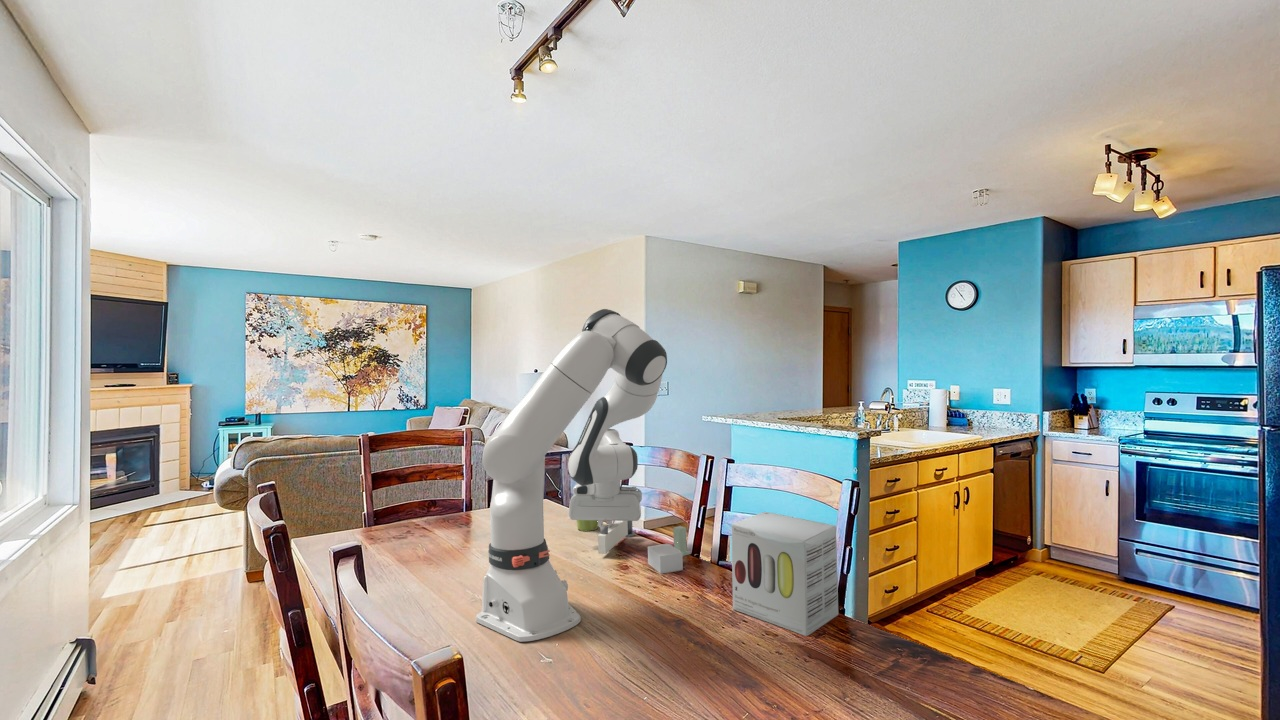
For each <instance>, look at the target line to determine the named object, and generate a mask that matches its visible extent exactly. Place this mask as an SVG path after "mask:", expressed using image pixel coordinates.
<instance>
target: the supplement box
mask: <svg viewBox="0 0 1280 720" xmlns="http://www.w3.org/2000/svg"><path fill="white" fill-rule="evenodd" d="M837 548H838V547H837V526H836V525H835V524H831V523H830V524H829V523H826V522H825V523H824V522H819V521H814V520H811V519H810V520H809V519H804V518H801V517H800V518H799V517H794V516H789V515H784V514H779V513H775V512H774V513H773V512H768V511H764V512H761V513H757V514H754V515H751V516H748V517H746V518H742V519H741V520H738V521H735V522H733V523H731V565H732V566H731V569H732V573H731V575H732V576H731V577H732V579H731V580H732V582H731V583H732V610H733V611H737V612H740V613H743V614H745V615H748V616H750V617H753V618H755V619H757V620H761V621H764V622H767V623H770V624H772V625H775V626H778V627H780V628H783V629H784V630H785V629H786V630H788V631H792V632H794V633H797V634H799V635H801V636H805V637H808V636H809V635H811V634H813V633H814V632H815V631H816V630H818V629H820V628H821V627H823V626H824V625H826V624H827V623H829V622H831V620H833V619H834V618H836V617H838V616H839V592H838V591H839V589H838V554H837V553H838V552H837V551H838V549H837Z"/></svg>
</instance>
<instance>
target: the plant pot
mask: <svg viewBox="0 0 1280 720" xmlns="http://www.w3.org/2000/svg"><path fill="white" fill-rule="evenodd" d="M597 521H598V520H576V526H577V530H580V531H581V532H591V531H595V530H597V529H598V527H599V525H598V522H597Z"/></svg>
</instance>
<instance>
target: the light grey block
mask: <svg viewBox="0 0 1280 720" xmlns="http://www.w3.org/2000/svg"><path fill="white" fill-rule="evenodd" d="M683 557H684V556H683V555H682V552H681V551H679V550H678V549H676V548H675V547H674V545H672V544H671V543H663V544H656V545H651V546H647V564H648V565H649V566H651V567H652V568H653V569H654V570H655V571H657V572H658V573H659V574H661V575H662V574H667V573H674V572H679V571H683V570H684V567H683V565H684V564H683V563H684V562H683V561H684V559H683Z"/></svg>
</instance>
